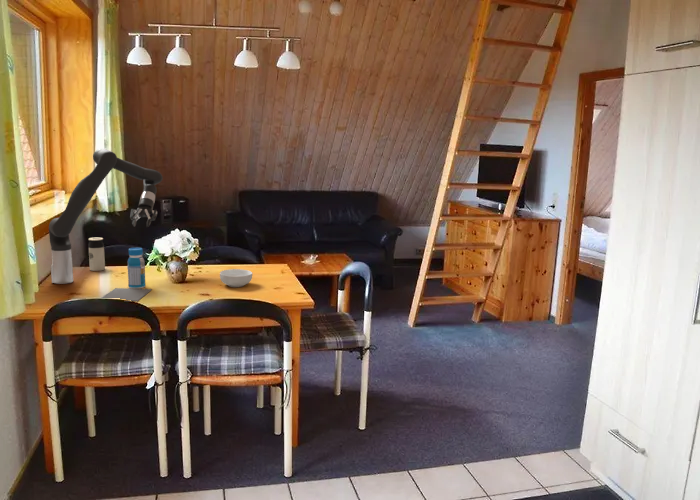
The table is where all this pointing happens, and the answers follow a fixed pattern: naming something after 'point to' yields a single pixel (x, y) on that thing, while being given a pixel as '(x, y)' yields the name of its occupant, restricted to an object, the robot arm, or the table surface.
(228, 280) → the cereal bowl
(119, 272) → the table surface
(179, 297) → the table surface
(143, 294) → the mat
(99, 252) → the travel mug
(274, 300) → the table surface
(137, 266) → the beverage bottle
